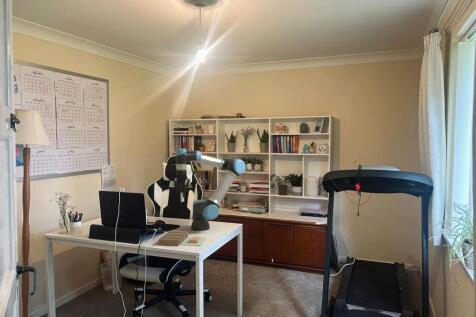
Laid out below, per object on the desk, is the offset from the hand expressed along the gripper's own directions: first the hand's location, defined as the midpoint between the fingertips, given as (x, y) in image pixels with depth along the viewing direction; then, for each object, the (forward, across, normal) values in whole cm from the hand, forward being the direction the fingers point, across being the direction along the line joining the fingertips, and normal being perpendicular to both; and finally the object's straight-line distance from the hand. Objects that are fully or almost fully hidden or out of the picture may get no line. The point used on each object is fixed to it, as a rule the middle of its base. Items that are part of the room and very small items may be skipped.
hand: (182, 201), depth 256 cm
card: (+24, +12, -12) cm, 29 cm away
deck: (+26, -4, -12) cm, 29 cm away
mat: (+26, +11, -12) cm, 31 cm away
